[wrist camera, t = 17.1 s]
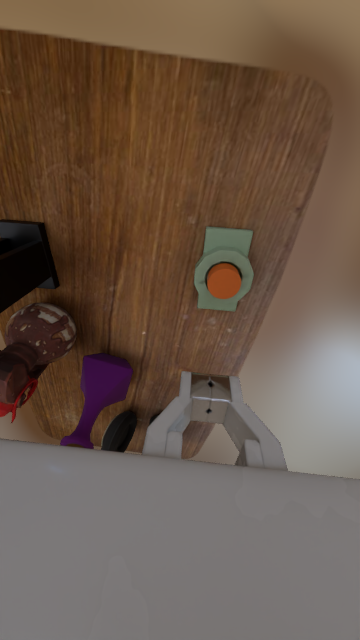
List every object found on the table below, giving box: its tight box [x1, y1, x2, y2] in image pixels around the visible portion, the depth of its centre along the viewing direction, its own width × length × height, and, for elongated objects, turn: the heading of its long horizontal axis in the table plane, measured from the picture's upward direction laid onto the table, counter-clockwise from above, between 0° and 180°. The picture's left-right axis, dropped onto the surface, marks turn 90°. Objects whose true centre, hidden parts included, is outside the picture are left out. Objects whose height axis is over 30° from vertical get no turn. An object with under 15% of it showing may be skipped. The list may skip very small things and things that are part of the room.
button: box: [207, 263, 241, 299], centre depth 25 cm, size 4×4×2 cm
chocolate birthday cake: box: [0, 303, 77, 423], centre depth 28 cm, size 9×8×15 cm
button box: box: [194, 226, 254, 311], centre depth 27 cm, size 10×6×2 cm, turn 177°
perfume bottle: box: [60, 353, 133, 449], centre depth 31 cm, size 8×8×18 cm
